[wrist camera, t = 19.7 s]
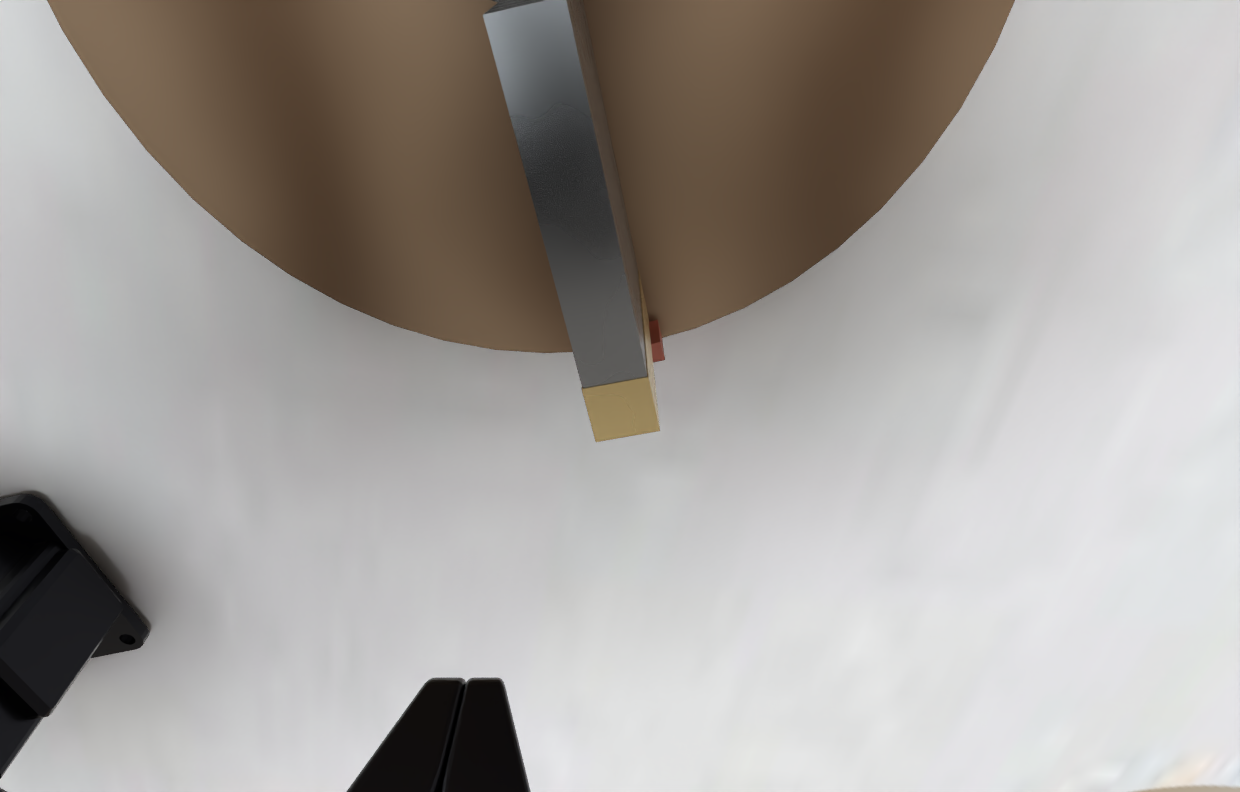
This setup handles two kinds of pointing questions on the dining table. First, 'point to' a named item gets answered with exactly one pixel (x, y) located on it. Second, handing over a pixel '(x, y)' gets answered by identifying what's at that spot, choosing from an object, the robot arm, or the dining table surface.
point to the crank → (578, 205)
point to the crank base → (489, 155)
